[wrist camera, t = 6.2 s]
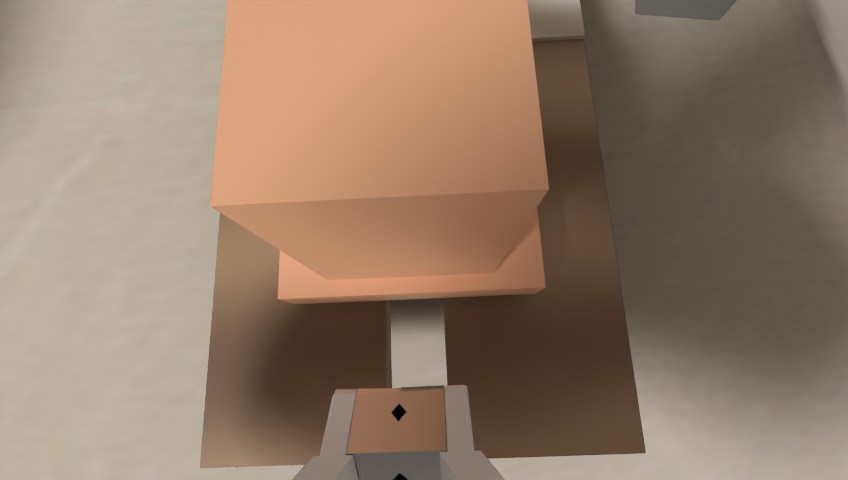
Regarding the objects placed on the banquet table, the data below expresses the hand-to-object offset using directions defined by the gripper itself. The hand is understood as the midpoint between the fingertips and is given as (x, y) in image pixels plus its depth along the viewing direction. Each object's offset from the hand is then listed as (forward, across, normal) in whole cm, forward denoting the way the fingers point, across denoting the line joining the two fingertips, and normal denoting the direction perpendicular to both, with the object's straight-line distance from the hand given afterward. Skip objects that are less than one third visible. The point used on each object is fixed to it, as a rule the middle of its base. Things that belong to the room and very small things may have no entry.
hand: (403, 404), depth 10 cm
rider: (+8, 0, 0) cm, 8 cm away
